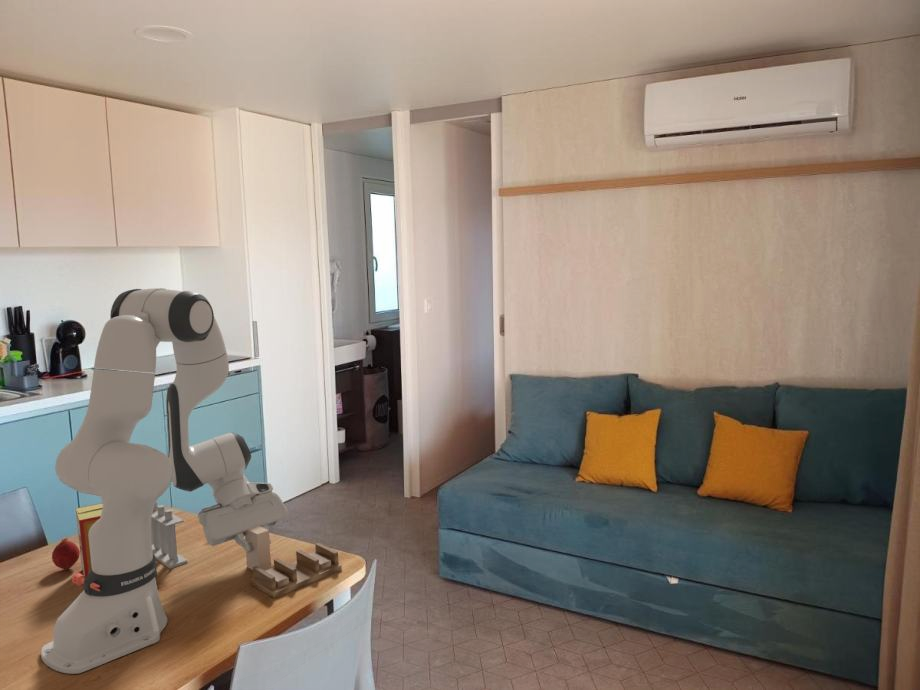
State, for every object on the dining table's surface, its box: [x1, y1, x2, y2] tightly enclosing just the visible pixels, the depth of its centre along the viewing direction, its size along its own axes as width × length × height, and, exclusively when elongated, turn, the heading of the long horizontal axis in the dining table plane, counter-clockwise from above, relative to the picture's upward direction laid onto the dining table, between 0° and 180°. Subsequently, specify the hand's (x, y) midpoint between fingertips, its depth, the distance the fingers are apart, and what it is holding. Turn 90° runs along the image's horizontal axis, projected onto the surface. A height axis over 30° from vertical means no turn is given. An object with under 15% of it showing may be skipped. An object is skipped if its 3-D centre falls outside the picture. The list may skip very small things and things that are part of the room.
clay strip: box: [244, 525, 272, 571], centre depth 165 cm, size 3×6×10 cm, turn 46°
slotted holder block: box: [250, 542, 343, 599], centre depth 161 cm, size 18×10×4 cm, turn 136°
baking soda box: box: [75, 502, 103, 577], centre depth 164 cm, size 10×6×16 cm
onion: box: [51, 536, 81, 570], centre depth 167 cm, size 6×6×8 cm
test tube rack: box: [151, 500, 189, 570], centre depth 176 cm, size 25×4×13 cm, turn 46°
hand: (259, 548), depth 164 cm, fingers closed on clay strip, 3 cm apart
